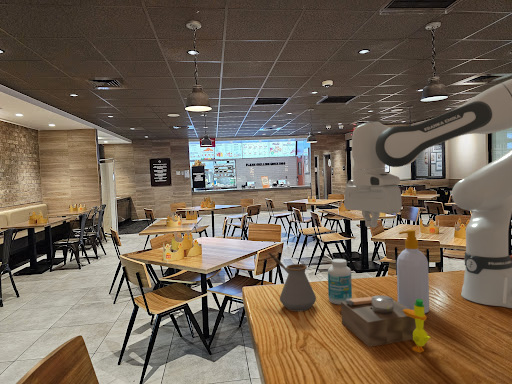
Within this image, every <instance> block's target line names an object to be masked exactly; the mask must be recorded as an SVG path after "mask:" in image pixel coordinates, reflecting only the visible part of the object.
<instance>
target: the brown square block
mask: <svg viewBox="0 0 512 384" xmlns="http://www.w3.org/2000/svg"><path fill="white" fill-rule="evenodd" d="M340 306H341V307H340V308H341V310H340V311H341V324H342V325H343V326H344V327H346V328H347V329H348V330H349V331H351V332H352V333H353V334H354V335H355V336H356V337H357V338H358V339H359V340H361V341H362V342H363V343H364V344H365V345H366V346H368V347H375V346H383V345H388V344H392V343H393V344H394V343H400V342H406V341H413V331H414V330H415V329H416V323H415V319H414V318H411V317H409V316H406V315H405V313H404V312H403V310H404V309H409V308H407V307H405V306H404V305H402V304H400V303H398V301H397V300H395V299H393V311H394V312H393V313H392V314H388V315H383V314H377V313H375V312H373V311H372V303H367V304H358V305H353V306H350V305H349V304H348V303H346V302H345V301H344V302H341V305H340Z"/></svg>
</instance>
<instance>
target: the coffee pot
mask: <svg viewBox="0 0 512 384" xmlns="http://www.w3.org/2000/svg"><path fill="white" fill-rule="evenodd" d="M268 255H269V256H268ZM266 256H267V259H268V258H269V259H270V257H271V259H272V260H274V262H275V263H276V264H277V265H279V267H280V268H281V269H283V270H285V272H286V274H288V275H287V277H286V280H285V282H284V284H283V288H282V290H281V294H280V296H279V300H280V303H281V304H282V305H283V306H284V307H285V308H286V309H287V310H288V311H292V312H304V311H305V312H306V311H308V310H310V309H311V307H313V305H314V304H315V303H316V302H317V297H316V293H315V292H314V290H313V288H312V285H311V283H310V281H309V279H308V276H307V275H306V270H307V268H308V267H307V265H306V264H298V263H296V264H289V265H287V266H285V265H284V264H283V262H281V261H280V259H279V258H277V257H276V256H275V255H274V254H273V253H271V252H268V253H267V254H266Z"/></svg>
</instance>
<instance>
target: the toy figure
mask: <svg viewBox="0 0 512 384" xmlns="http://www.w3.org/2000/svg"><path fill="white" fill-rule="evenodd" d="M403 312H404V313H405V315H406V316H409V317H411V318H414V319H415V323H416V329H415V330H414V331H413V339H412V341H414V343H415V346H412V347H411V349H412V351H414V352H416V353H419V354H420V353H423V352H424V351H425V349H424V348H423V347H424V346H425V345H426V344H427V342H428V341H429V340H430V339H431V336H429V335H428V333H427V331H426V330H425V329H424V325H425V321H427V318H428V317H427V316H426V314H425V313H424V304H423V300H421V299H416V303H414V310H411V309H404V310H403Z"/></svg>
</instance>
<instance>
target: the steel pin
mask: <svg viewBox="0 0 512 384" xmlns="http://www.w3.org/2000/svg"><path fill="white" fill-rule="evenodd" d="M371 297H372V311H373V312H375V313H377V314H383V315H388V314H392V313H393V312H394V311H393V300H394V298H392V297H391V296H388V295H374V296H371Z"/></svg>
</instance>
